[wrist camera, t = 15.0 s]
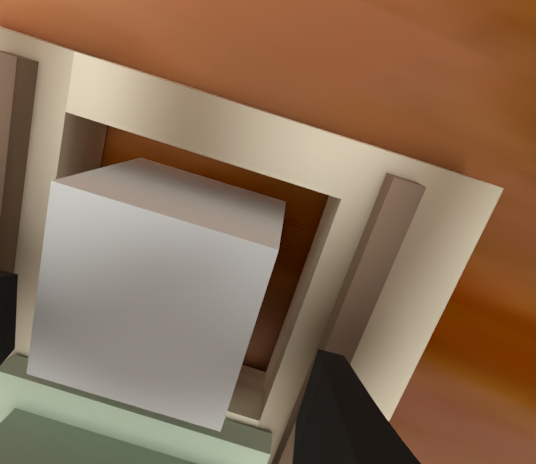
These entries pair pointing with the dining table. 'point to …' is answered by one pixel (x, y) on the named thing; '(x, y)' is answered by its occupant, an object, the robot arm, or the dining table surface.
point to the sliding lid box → (270, 164)
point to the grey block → (152, 286)
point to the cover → (107, 429)
